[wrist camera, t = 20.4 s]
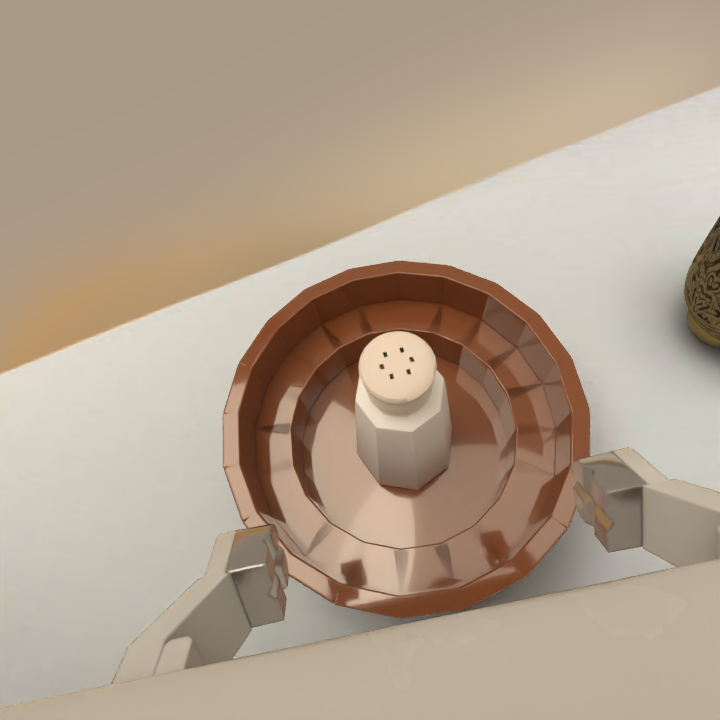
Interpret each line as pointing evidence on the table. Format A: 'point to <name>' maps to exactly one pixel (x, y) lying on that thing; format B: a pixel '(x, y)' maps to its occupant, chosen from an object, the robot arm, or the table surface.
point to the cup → (705, 290)
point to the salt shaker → (402, 411)
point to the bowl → (467, 452)
